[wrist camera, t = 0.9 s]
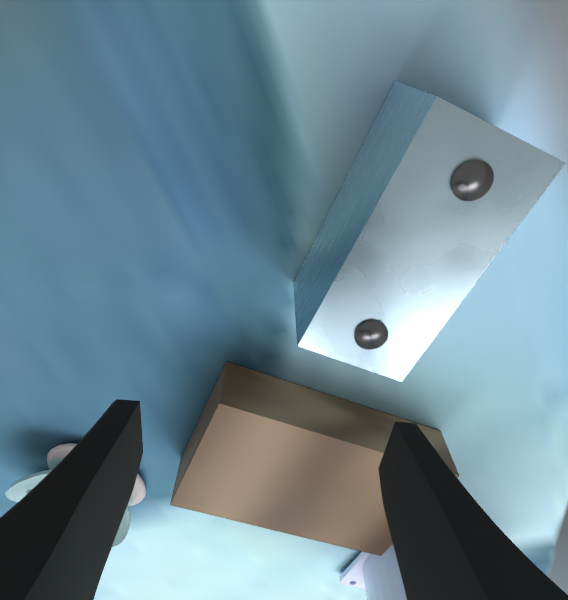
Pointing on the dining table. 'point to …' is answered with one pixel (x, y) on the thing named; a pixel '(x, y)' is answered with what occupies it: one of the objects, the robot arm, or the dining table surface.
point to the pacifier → (53, 459)
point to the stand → (291, 461)
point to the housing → (413, 231)
